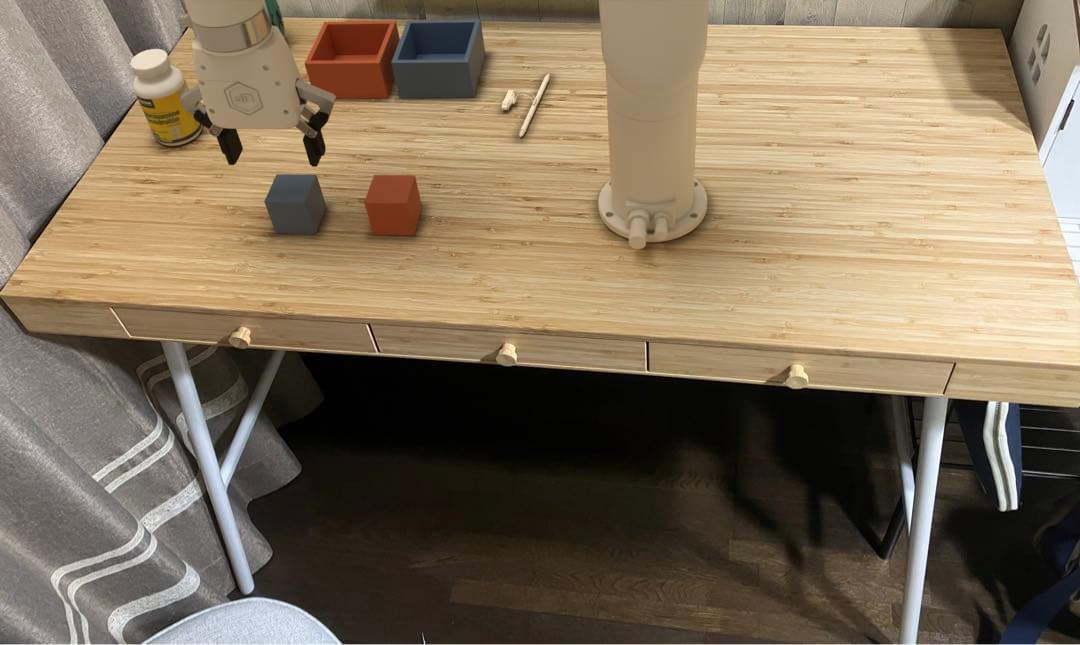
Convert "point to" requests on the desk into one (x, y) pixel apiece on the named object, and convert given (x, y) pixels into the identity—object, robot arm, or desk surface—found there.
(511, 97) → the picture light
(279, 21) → the beverage bottle
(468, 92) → the blue bin
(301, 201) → the gray block
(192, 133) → the pill bottle
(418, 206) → the terracotta block
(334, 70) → the terracotta bin
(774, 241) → the desk surface
